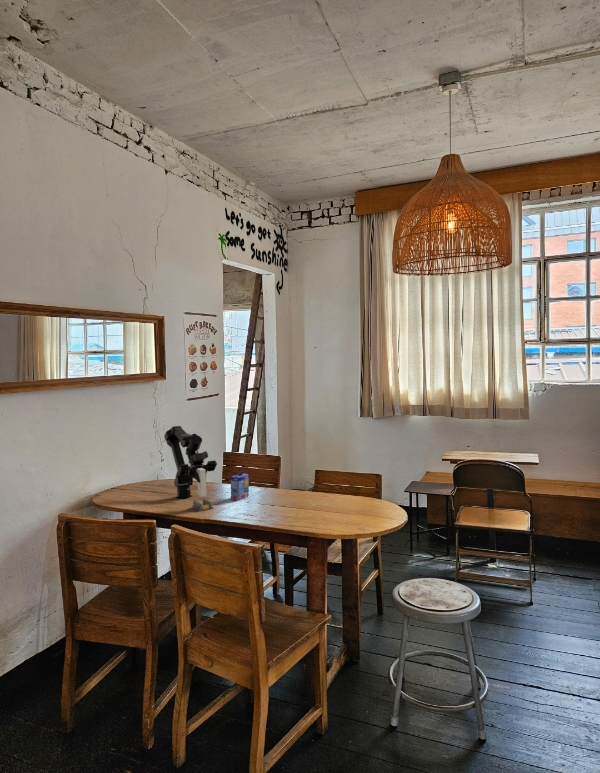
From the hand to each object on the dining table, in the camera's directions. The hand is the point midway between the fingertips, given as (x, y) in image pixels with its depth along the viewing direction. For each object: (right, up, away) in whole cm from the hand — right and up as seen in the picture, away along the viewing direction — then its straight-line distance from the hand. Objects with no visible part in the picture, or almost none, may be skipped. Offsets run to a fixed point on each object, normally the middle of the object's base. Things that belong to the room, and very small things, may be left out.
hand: (202, 481), depth 256 cm
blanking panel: (0, -7, +1) cm, 7 cm away
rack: (0, -13, +2) cm, 13 cm away
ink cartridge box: (+16, -12, +19) cm, 28 cm away
